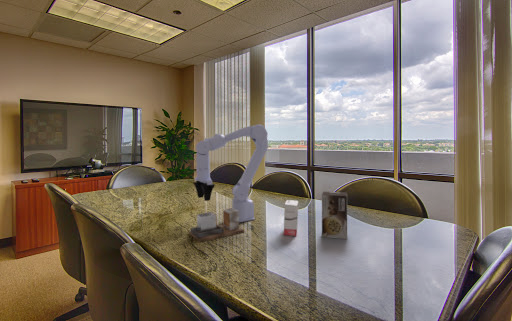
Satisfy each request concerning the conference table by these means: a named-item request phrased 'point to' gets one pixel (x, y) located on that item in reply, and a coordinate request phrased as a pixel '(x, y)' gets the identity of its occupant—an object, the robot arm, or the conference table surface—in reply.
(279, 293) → the conference table surface
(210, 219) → the grey rectangular block
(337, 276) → the conference table surface
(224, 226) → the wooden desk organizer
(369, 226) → the conference table surface
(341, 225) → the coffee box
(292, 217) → the ink box
